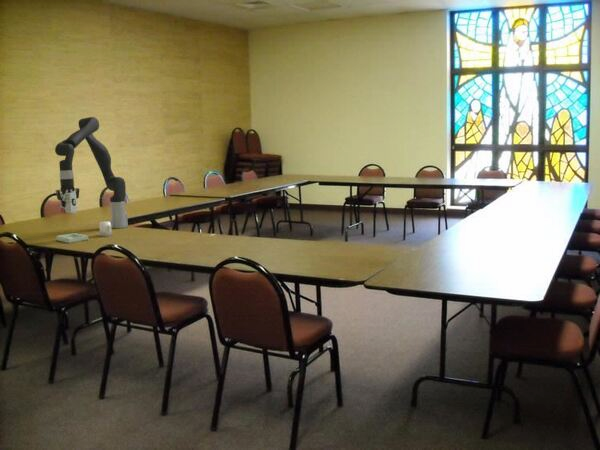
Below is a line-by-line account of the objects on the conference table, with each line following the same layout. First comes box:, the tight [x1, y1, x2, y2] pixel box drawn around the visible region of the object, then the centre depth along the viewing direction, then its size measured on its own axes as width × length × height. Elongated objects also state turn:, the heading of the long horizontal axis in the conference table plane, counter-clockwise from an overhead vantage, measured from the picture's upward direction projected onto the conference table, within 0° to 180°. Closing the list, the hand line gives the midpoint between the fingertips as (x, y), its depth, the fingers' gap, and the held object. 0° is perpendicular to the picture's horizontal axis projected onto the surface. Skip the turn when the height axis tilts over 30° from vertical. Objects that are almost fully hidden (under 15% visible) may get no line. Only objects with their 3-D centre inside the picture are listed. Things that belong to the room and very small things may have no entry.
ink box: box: [60, 191, 78, 214], centre depth 383 cm, size 9×5×12 cm, turn 61°
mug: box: [98, 221, 113, 237], centre depth 398 cm, size 7×9×8 cm
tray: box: [56, 232, 89, 244], centre depth 386 cm, size 12×16×3 cm
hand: (68, 206), depth 383 cm, fingers closed on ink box, 5 cm apart
